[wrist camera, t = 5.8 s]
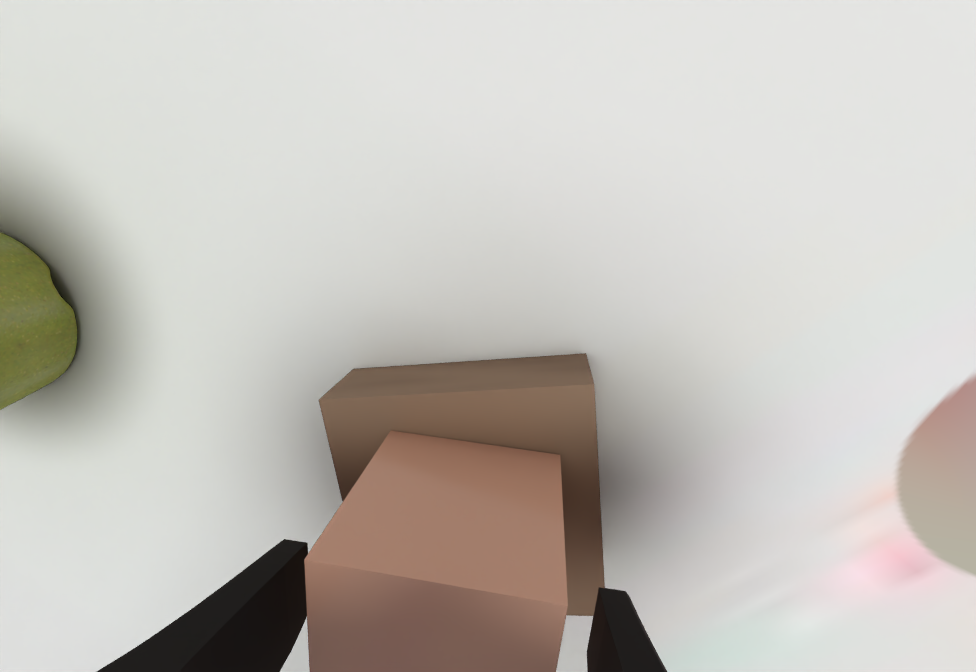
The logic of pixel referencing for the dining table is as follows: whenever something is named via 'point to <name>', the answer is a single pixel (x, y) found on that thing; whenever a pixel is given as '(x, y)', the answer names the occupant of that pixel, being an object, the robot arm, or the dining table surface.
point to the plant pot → (31, 324)
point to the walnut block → (486, 432)
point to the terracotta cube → (442, 563)
